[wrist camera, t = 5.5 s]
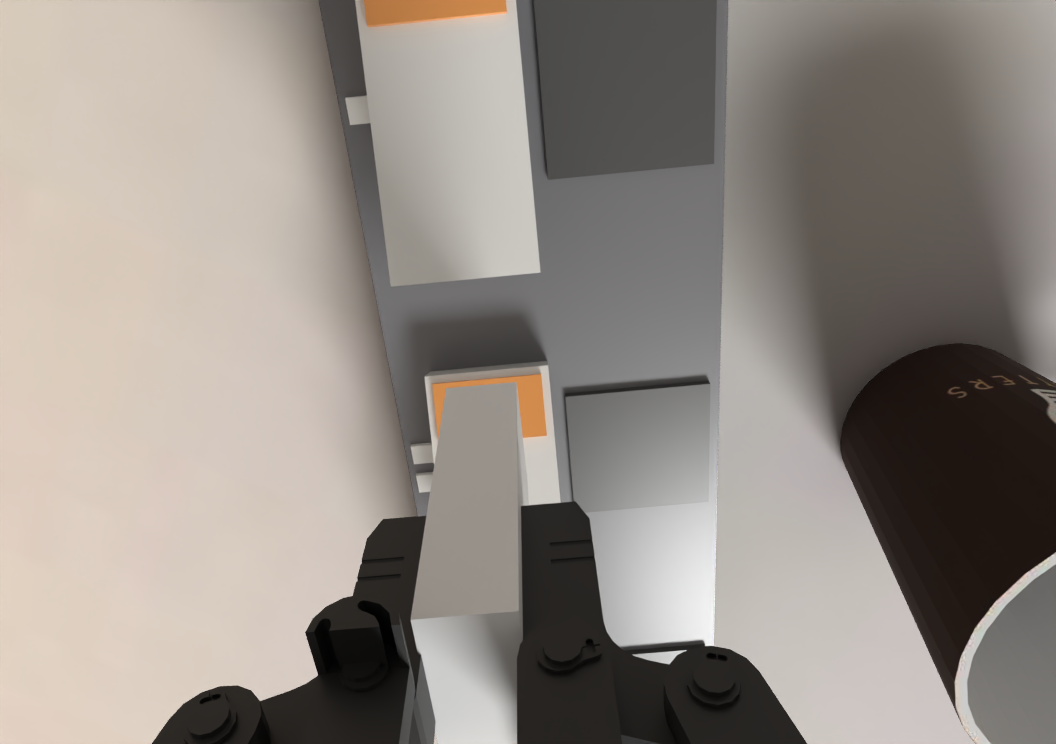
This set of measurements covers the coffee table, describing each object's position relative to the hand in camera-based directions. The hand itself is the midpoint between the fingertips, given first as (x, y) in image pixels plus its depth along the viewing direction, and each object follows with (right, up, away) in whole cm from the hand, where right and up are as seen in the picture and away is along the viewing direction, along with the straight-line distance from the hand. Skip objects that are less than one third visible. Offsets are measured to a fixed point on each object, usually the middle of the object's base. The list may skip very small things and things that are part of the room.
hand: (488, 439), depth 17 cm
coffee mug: (+16, -1, +10) cm, 19 cm away
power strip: (+2, -3, +11) cm, 11 cm away
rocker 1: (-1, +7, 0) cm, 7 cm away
